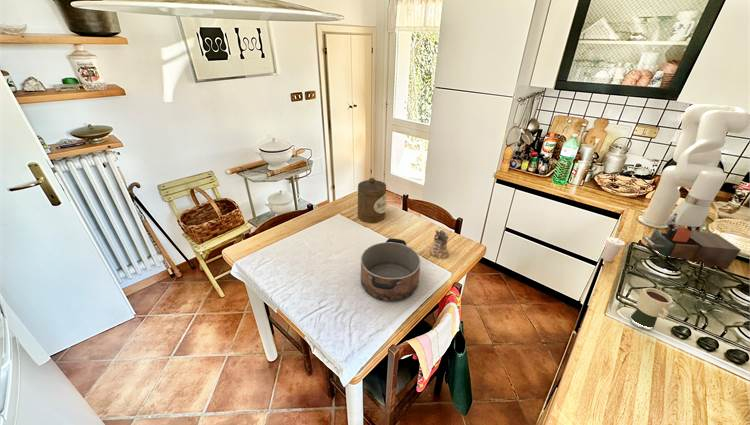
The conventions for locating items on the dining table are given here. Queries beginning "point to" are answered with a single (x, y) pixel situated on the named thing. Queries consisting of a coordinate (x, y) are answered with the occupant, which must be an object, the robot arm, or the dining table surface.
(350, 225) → the dining table surface
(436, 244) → the figurine
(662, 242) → the drawer
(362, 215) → the brown lidded canister
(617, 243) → the smoothie
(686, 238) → the block
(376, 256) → the cooking pot
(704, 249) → the cabinet
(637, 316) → the character mug
